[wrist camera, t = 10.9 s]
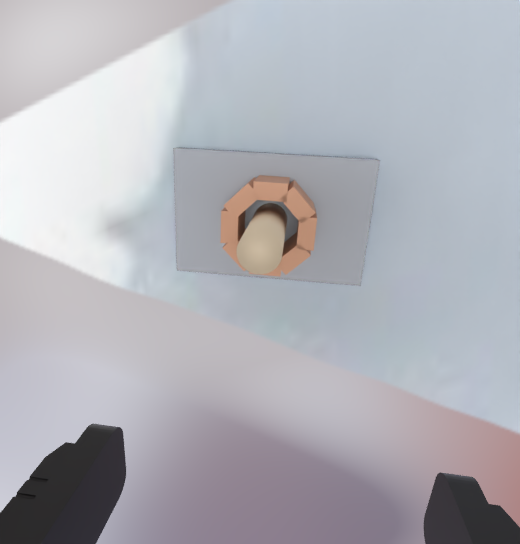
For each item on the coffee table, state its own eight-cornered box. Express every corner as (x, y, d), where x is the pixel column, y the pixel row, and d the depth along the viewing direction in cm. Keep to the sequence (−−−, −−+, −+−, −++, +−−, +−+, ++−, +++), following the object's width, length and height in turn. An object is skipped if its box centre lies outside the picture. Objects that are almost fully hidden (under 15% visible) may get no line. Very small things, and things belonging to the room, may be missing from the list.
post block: (376, 159, 26) (413, 172, 18) (358, 279, 30) (381, 340, 21) (178, 147, 27) (123, 154, 19) (181, 265, 31) (134, 317, 22)
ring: (318, 179, 26) (320, 186, 23) (309, 262, 28) (310, 279, 25) (231, 173, 27) (221, 179, 23) (229, 255, 29) (219, 271, 25)
